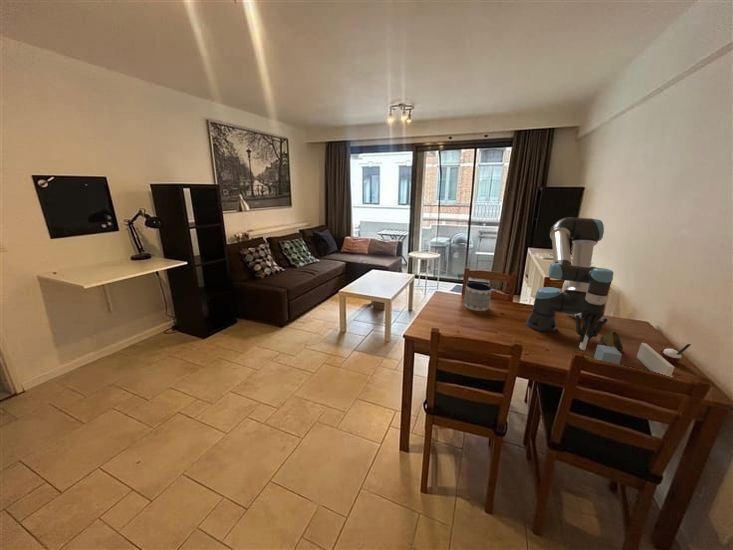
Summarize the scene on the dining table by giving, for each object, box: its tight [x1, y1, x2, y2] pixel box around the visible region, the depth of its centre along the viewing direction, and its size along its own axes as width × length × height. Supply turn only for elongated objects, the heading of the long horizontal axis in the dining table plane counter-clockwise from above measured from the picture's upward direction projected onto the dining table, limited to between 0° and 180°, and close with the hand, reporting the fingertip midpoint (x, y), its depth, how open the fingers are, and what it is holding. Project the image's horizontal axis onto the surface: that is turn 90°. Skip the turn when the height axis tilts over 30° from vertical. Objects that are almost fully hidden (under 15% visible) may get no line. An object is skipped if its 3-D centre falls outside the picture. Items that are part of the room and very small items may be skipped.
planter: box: [463, 282, 493, 312], centre depth 199 cm, size 16×16×14 cm
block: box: [593, 344, 623, 365], centre depth 141 cm, size 7×7×7 cm
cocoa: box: [660, 343, 692, 364], centre depth 142 cm, size 10×6×12 cm, turn 165°
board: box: [636, 342, 675, 377], centre depth 136 cm, size 6×20×8 cm, turn 164°
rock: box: [600, 329, 624, 353], centre depth 156 cm, size 11×9×10 cm
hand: (582, 348), depth 142 cm, fingers closed
